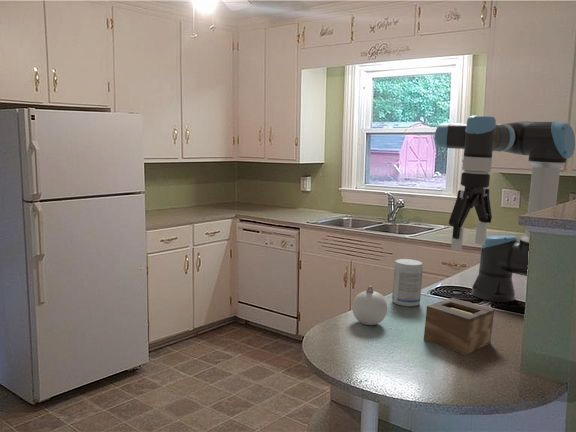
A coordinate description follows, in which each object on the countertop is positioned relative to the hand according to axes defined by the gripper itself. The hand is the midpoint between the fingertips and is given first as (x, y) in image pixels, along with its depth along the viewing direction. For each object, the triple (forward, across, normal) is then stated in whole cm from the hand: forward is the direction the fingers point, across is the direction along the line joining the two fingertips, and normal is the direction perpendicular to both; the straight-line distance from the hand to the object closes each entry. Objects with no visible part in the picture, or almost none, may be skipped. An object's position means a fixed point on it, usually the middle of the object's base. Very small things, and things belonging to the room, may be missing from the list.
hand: (468, 247), depth 153 cm
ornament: (+27, +14, -22) cm, 38 cm away
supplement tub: (+27, -14, -28) cm, 42 cm away
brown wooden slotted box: (+27, +4, +2) cm, 27 cm away
